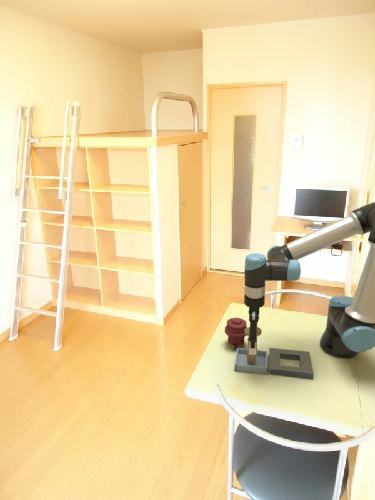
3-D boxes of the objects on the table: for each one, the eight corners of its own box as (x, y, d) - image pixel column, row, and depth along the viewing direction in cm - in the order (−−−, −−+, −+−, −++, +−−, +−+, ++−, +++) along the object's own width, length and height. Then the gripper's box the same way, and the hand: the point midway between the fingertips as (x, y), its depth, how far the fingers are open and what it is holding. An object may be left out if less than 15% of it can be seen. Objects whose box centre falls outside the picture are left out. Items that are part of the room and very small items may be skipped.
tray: (266, 357, 145) (267, 351, 144) (266, 374, 135) (267, 368, 134) (236, 354, 148) (237, 347, 147) (234, 371, 137) (234, 364, 136)
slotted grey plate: (308, 356, 145) (309, 351, 144) (312, 379, 132) (313, 373, 131) (268, 352, 148) (269, 347, 147) (269, 374, 135) (269, 368, 135)
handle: (261, 365, 139) (263, 332, 134) (245, 367, 138) (246, 334, 133) (257, 357, 144) (259, 326, 138) (241, 359, 143) (243, 327, 138)
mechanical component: (248, 339, 158) (247, 353, 148) (225, 337, 160) (223, 350, 150) (249, 315, 154) (248, 327, 144) (226, 313, 156) (223, 325, 146)
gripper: (246, 280, 144) (245, 326, 151) (242, 310, 121) (241, 362, 128) (265, 281, 142) (263, 327, 149) (264, 311, 119) (262, 364, 126)
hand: (253, 343), depth 138 cm, fingers open, 13 cm apart
